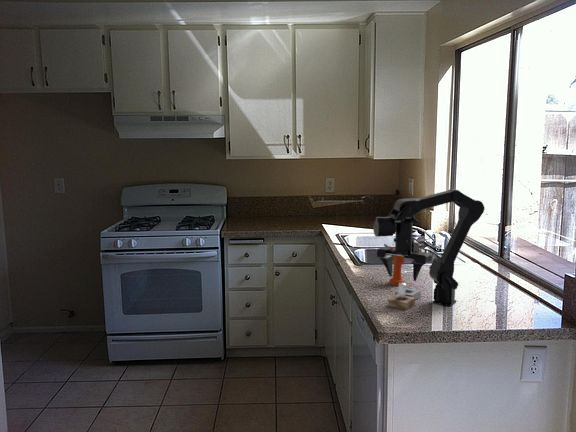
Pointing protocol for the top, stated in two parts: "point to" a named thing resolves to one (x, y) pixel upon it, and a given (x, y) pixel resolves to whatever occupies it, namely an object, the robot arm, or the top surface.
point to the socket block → (401, 302)
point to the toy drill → (396, 269)
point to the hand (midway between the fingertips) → (402, 278)
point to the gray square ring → (411, 293)
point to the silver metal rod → (402, 291)
